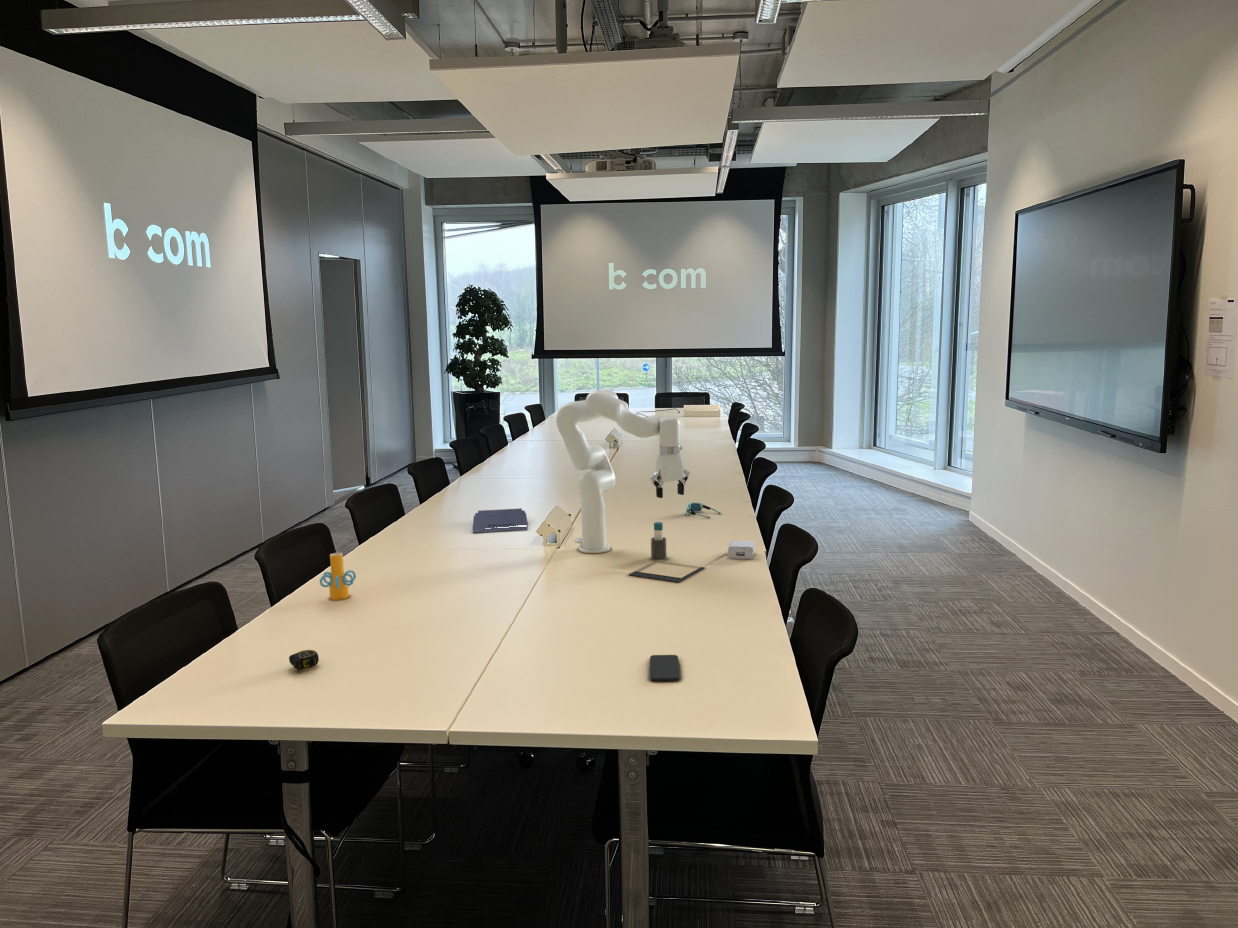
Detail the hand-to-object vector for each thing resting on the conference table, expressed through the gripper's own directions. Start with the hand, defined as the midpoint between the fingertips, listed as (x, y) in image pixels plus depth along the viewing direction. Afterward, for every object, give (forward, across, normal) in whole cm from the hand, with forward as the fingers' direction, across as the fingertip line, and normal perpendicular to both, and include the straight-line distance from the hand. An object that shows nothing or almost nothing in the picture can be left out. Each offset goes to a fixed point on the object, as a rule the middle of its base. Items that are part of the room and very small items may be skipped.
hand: (670, 495), depth 317 cm
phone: (+24, +63, +84) cm, 108 cm away
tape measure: (+25, +140, +27) cm, 144 cm away
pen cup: (+25, +2, -4) cm, 25 cm away
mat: (+25, +10, +12) cm, 29 cm away
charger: (+25, -27, +9) cm, 38 cm away
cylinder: (+26, +115, -30) cm, 122 cm away
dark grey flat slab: (+26, +26, -98) cm, 104 cm away
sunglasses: (+25, -59, -56) cm, 85 cm away
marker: (+24, +2, -4) cm, 25 cm away
